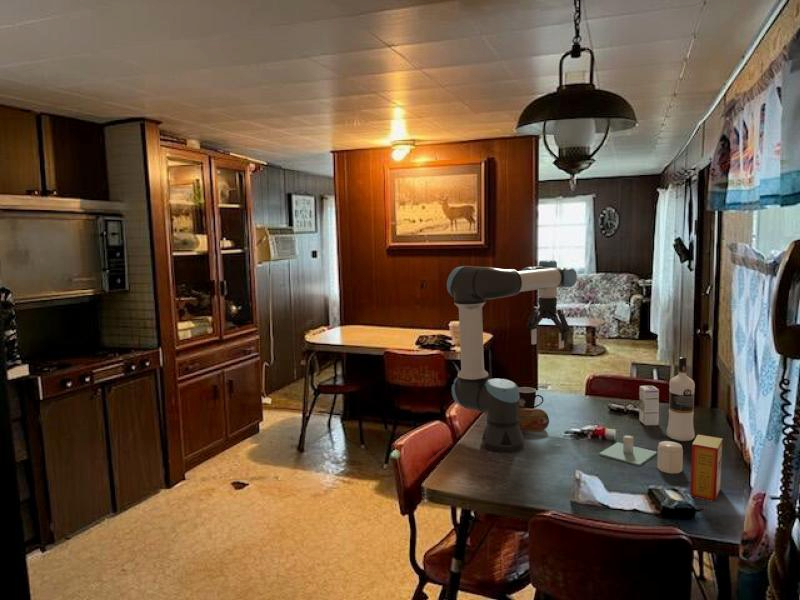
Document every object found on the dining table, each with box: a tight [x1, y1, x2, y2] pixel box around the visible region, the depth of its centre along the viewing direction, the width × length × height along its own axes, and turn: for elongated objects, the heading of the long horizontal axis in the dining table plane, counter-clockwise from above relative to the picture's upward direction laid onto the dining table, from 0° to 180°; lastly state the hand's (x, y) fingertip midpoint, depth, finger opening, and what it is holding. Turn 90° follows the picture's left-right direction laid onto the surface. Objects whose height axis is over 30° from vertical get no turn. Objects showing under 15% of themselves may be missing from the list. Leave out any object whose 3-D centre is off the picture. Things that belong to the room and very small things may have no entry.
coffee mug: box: [518, 386, 544, 409], centre depth 245 cm, size 12×9×10 cm
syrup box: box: [638, 385, 660, 426], centre depth 229 cm, size 6×6×14 cm
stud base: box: [598, 435, 658, 467], centre depth 199 cm, size 14×14×6 cm
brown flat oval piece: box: [519, 408, 550, 432], centre depth 226 cm, size 15×3×8 cm, turn 76°
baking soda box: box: [689, 434, 724, 502], centre depth 169 cm, size 10×6×16 cm
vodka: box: [666, 356, 696, 442], centre depth 212 cm, size 9×9×30 cm
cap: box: [656, 440, 684, 474], centre depth 186 cm, size 7×7×8 cm
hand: (547, 346), depth 249 cm, fingers open, 13 cm apart
